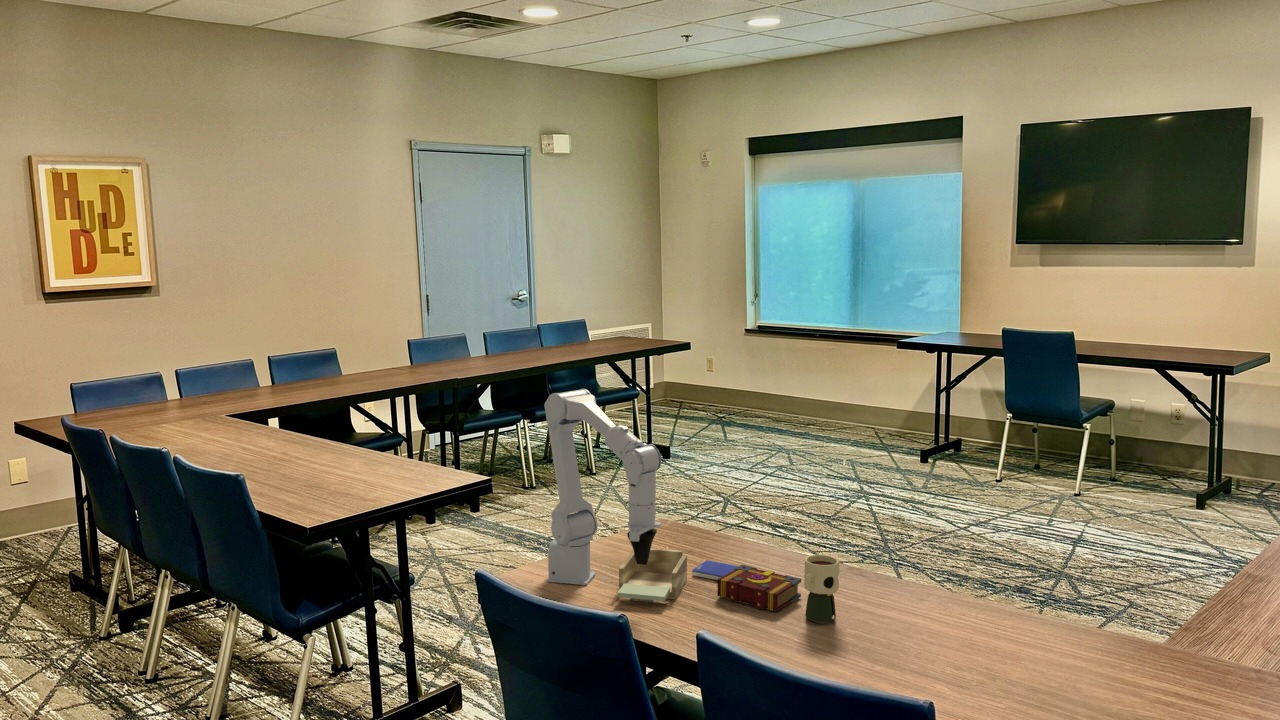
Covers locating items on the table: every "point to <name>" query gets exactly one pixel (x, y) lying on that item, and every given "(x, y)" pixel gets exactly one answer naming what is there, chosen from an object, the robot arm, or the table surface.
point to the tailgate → (643, 592)
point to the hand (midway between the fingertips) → (642, 563)
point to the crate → (656, 571)
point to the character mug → (821, 587)
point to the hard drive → (712, 570)
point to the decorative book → (758, 588)
